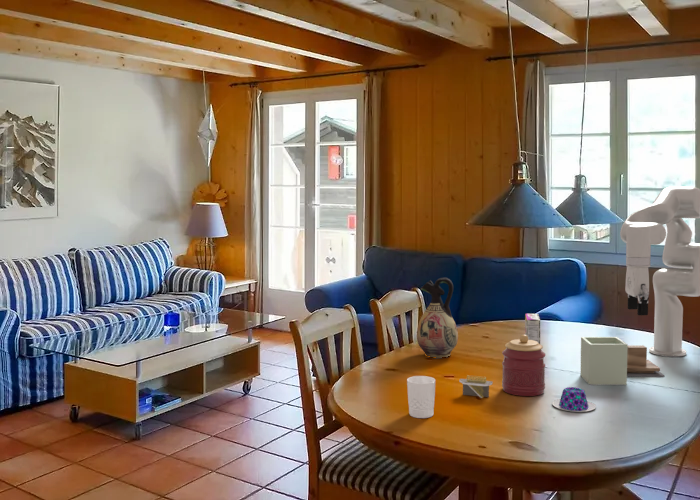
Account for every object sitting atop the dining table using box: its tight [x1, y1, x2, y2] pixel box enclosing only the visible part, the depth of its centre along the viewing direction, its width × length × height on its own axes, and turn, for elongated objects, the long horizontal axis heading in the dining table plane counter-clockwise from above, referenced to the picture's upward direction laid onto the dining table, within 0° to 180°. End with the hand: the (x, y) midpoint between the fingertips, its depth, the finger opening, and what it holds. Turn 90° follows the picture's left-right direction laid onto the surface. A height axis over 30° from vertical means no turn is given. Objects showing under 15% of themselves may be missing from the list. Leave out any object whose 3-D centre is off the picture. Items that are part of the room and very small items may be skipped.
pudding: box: [551, 386, 597, 413], centre depth 199 cm, size 12×12×5 cm
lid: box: [627, 344, 661, 373], centre depth 234 cm, size 11×12×8 cm
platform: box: [459, 374, 494, 399], centre depth 209 cm, size 12×18×7 cm, turn 69°
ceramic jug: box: [416, 277, 459, 359], centre depth 258 cm, size 17×15×30 cm
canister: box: [501, 334, 546, 397], centre depth 214 cm, size 13×13×18 cm
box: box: [579, 336, 628, 386], centre depth 224 cm, size 11×12×13 cm
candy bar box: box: [524, 313, 541, 344], centre depth 249 cm, size 11×5×16 cm, turn 168°
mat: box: [627, 371, 665, 378], centre depth 235 cm, size 14×14×1 cm
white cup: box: [406, 375, 436, 419], centre depth 194 cm, size 8×8×10 cm
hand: (637, 312), depth 233 cm, fingers open, 9 cm apart
